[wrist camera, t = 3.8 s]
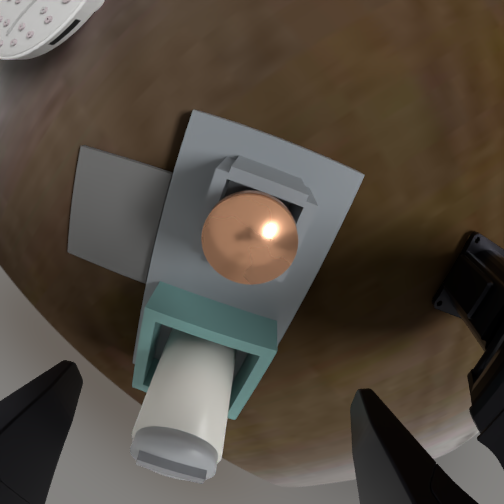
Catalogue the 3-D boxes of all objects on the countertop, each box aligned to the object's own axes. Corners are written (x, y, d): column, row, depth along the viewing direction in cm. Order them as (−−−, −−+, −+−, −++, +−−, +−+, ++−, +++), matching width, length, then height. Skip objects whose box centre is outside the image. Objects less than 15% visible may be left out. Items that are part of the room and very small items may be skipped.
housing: (359, 171, 17) (385, 191, 13) (246, 391, 26) (242, 432, 22) (197, 109, 16) (174, 110, 12) (136, 355, 25) (118, 393, 21)
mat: (173, 172, 18) (172, 174, 18) (147, 280, 21) (145, 283, 21) (83, 145, 17) (80, 145, 17) (70, 249, 21) (67, 252, 20)
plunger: (302, 187, 17) (313, 216, 12) (275, 249, 19) (276, 296, 14) (233, 161, 16) (217, 181, 12) (210, 226, 18) (190, 266, 14)
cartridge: (246, 330, 21) (230, 469, 12) (225, 374, 23) (205, 496, 14) (177, 307, 21) (124, 438, 11) (164, 354, 23) (122, 471, 13)
